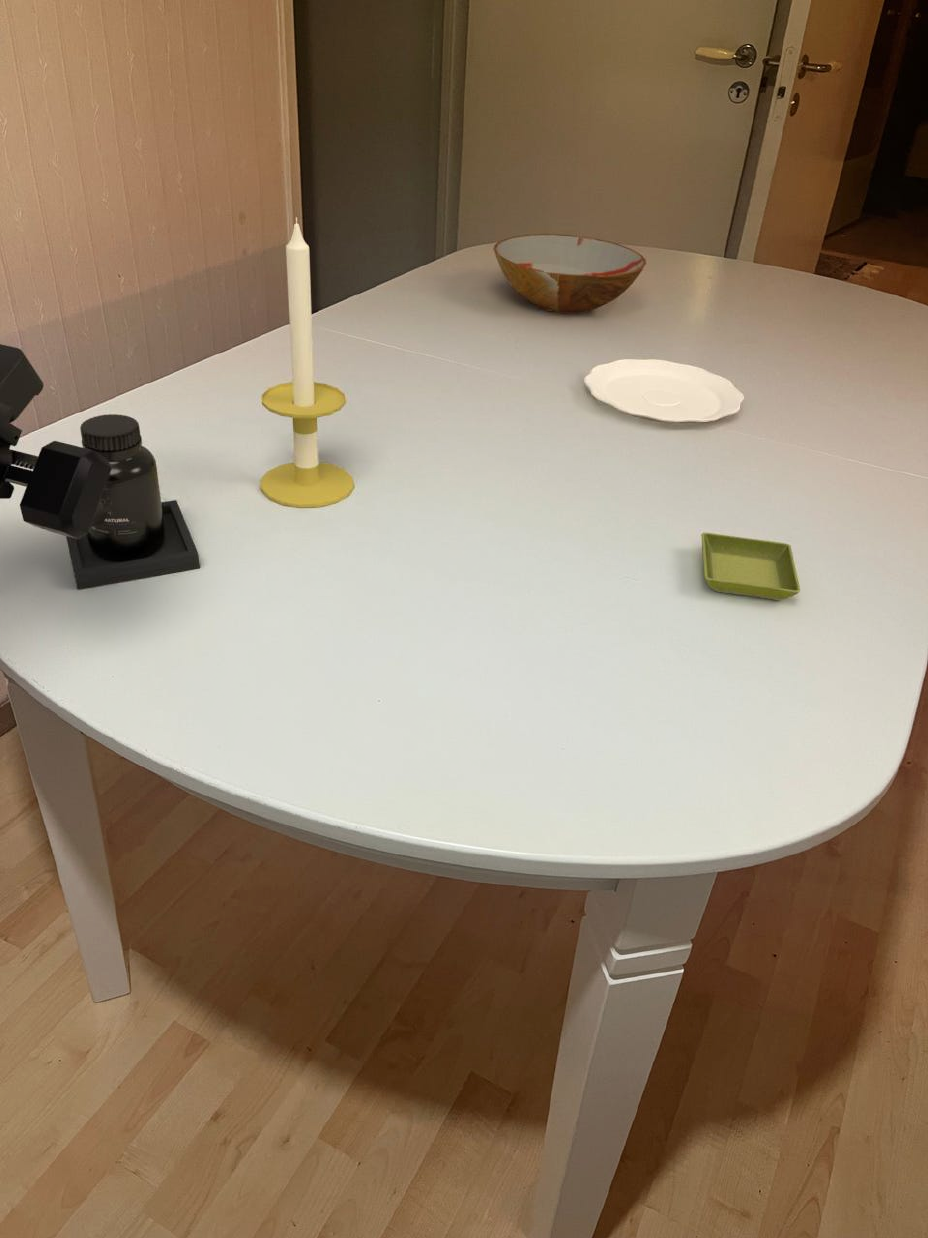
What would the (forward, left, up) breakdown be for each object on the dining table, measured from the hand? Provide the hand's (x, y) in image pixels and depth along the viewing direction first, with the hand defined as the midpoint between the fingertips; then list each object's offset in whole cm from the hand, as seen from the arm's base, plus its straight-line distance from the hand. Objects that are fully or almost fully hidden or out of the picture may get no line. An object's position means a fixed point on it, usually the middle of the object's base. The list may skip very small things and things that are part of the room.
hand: (56, 504), depth 76 cm
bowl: (+75, +73, -9) cm, 105 cm away
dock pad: (+5, +6, -9) cm, 12 cm away
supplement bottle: (+5, +6, -8) cm, 11 cm away
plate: (+73, +32, -9) cm, 80 cm away
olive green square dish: (+61, -10, -9) cm, 62 cm away
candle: (+23, +16, -9) cm, 29 cm away
